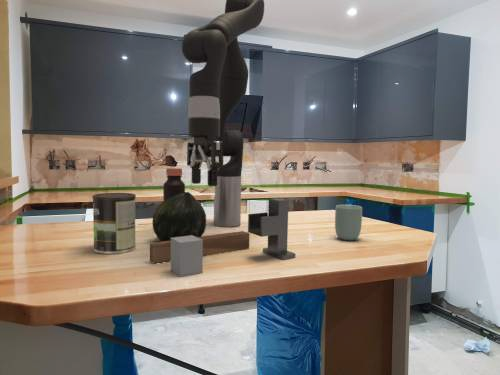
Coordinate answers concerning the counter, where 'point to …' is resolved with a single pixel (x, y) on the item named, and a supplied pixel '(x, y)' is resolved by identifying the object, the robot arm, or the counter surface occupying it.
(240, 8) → the robot arm
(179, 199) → the squash
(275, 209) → the bracket
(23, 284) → the counter surface
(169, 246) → the rail
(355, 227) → the cup
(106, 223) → the coffee can
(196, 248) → the rest block
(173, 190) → the bottle
